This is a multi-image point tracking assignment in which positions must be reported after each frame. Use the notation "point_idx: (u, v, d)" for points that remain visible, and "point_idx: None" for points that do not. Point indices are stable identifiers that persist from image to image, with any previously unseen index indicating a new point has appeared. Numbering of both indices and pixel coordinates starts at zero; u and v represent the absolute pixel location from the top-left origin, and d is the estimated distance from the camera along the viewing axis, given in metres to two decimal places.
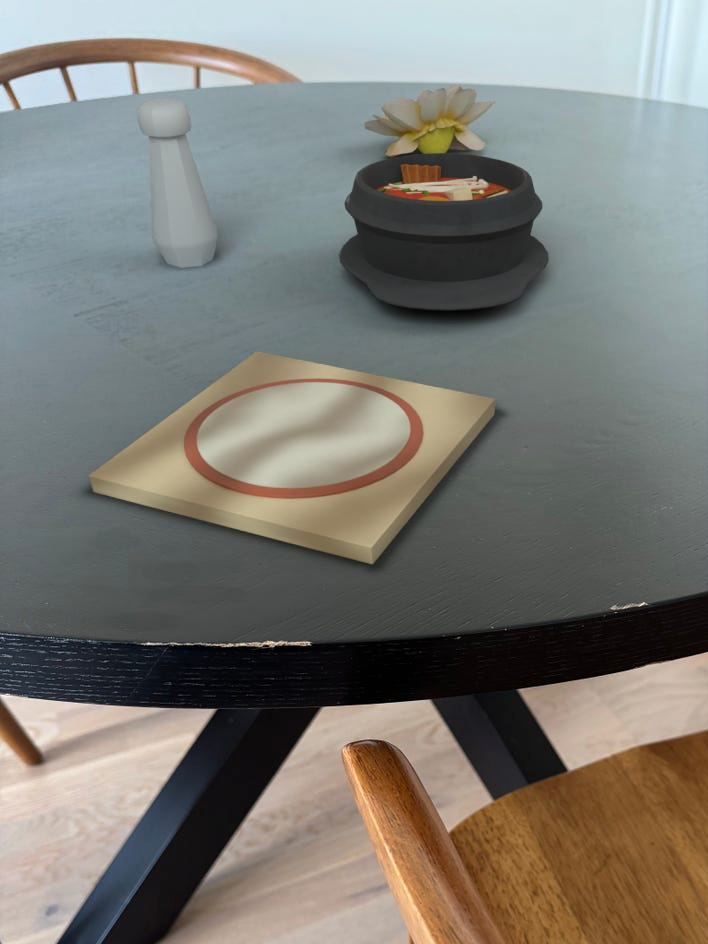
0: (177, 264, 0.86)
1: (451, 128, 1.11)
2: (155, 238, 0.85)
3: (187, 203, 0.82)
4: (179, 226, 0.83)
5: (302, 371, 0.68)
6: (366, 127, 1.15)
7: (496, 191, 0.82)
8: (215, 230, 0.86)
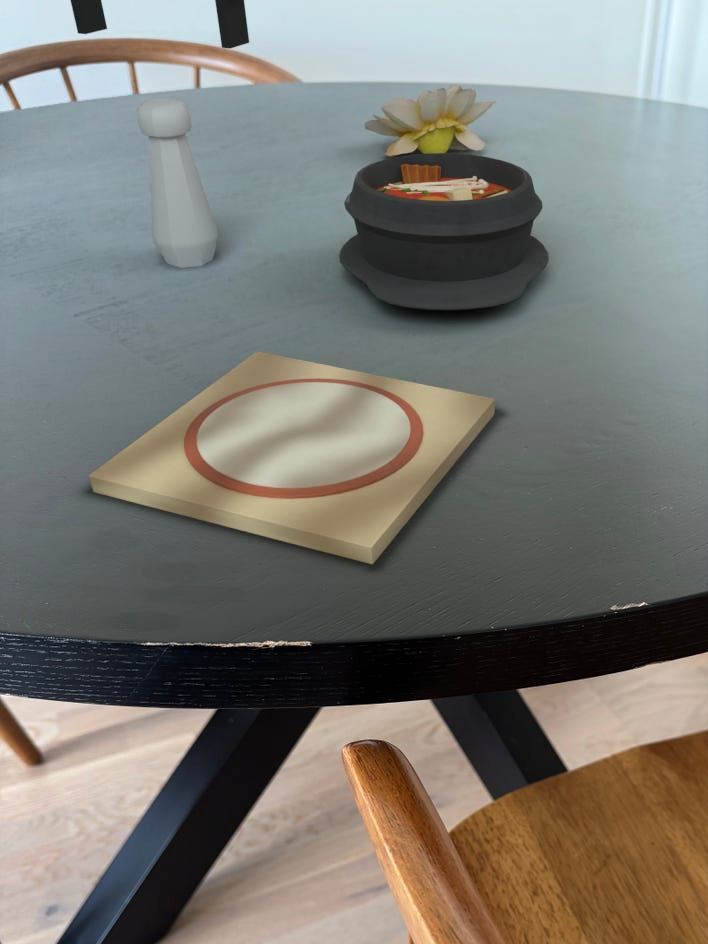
0: (177, 264, 0.86)
1: (451, 128, 1.11)
2: (155, 238, 0.85)
3: (187, 203, 0.82)
4: (179, 226, 0.83)
5: (302, 371, 0.68)
6: (366, 127, 1.15)
7: (496, 191, 0.82)
8: (215, 230, 0.86)
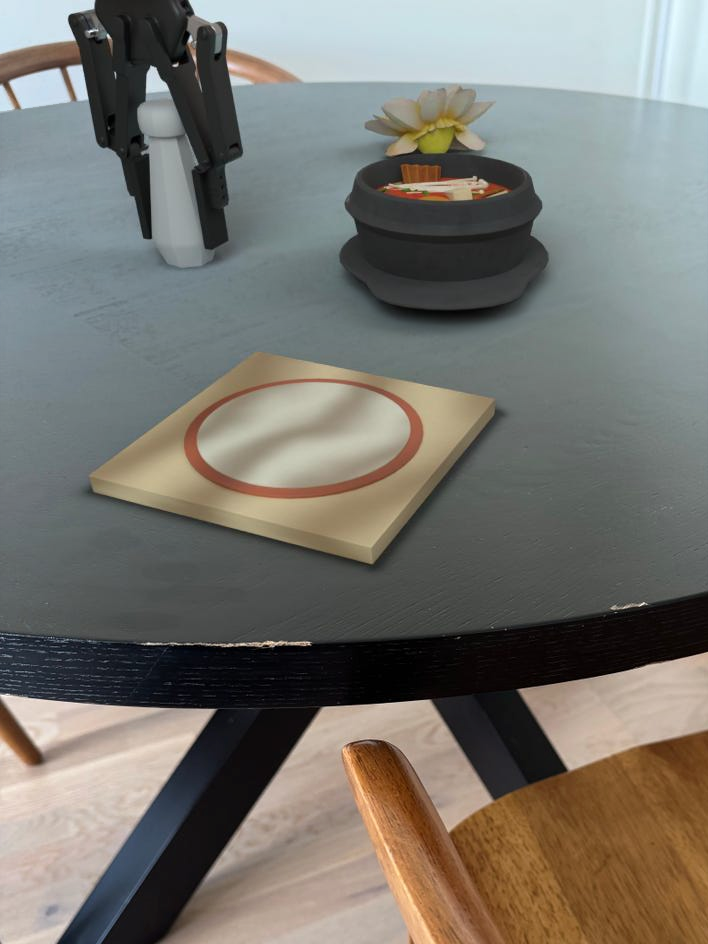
0: (177, 264, 0.86)
1: (451, 128, 1.11)
2: (155, 238, 0.85)
3: (187, 203, 0.82)
4: (179, 226, 0.83)
5: (302, 371, 0.68)
6: (366, 127, 1.15)
7: (496, 191, 0.82)
8: None
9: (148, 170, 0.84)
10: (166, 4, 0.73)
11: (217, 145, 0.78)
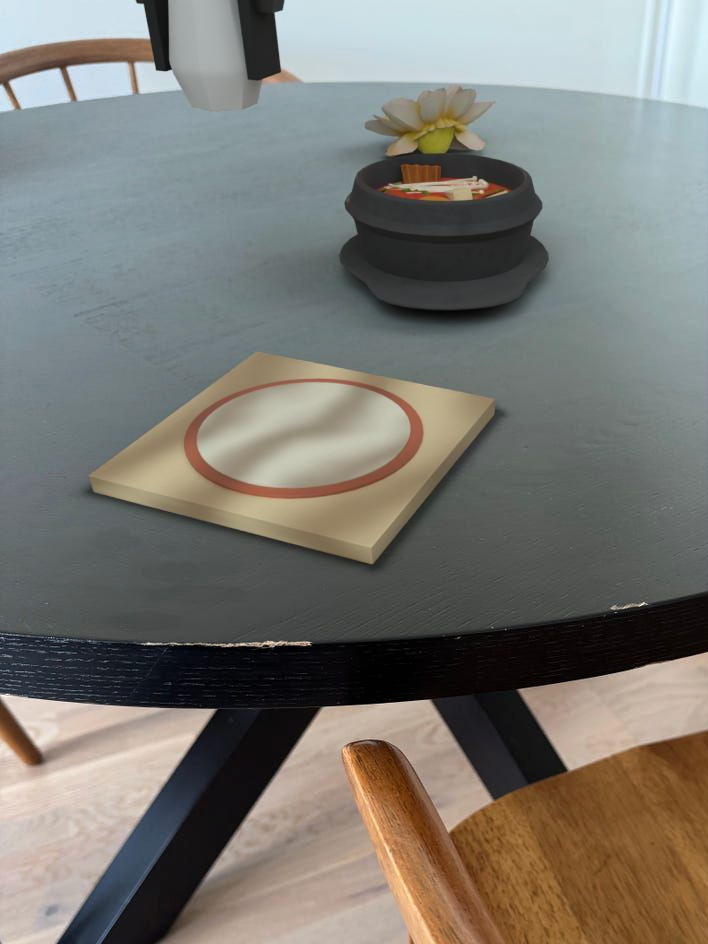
0: (207, 106, 0.59)
1: (451, 128, 1.11)
2: (175, 64, 0.57)
3: (223, 4, 0.55)
4: (211, 41, 0.56)
5: (302, 371, 0.68)
6: (366, 127, 1.15)
7: (496, 191, 0.82)
8: None
9: None
10: None
11: None
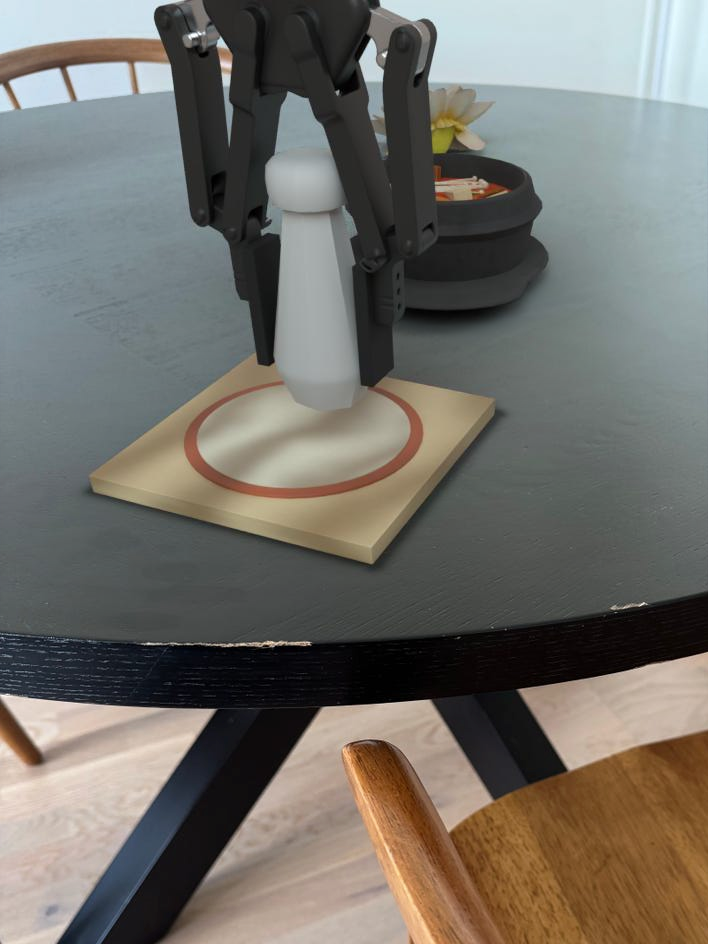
0: (314, 406, 0.54)
1: (451, 128, 1.11)
2: (282, 368, 0.53)
3: (339, 315, 0.50)
4: (324, 351, 0.51)
5: None
6: None
7: (496, 191, 0.82)
8: None
9: (272, 260, 0.52)
10: None
11: (403, 228, 0.46)
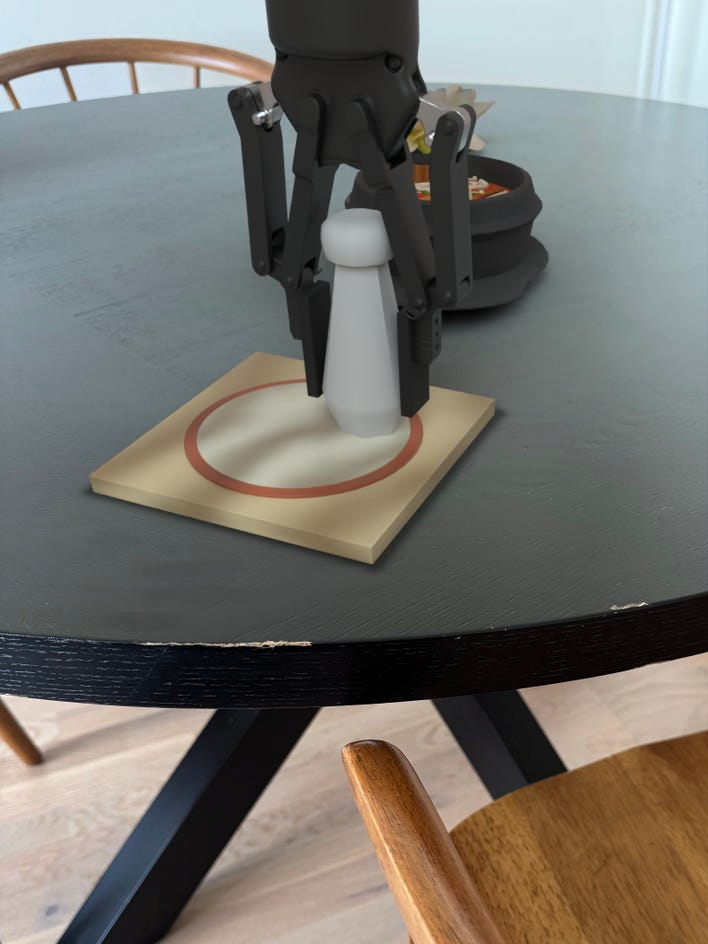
0: (358, 433, 0.60)
1: None
2: (330, 400, 0.59)
3: (383, 355, 0.57)
4: (369, 386, 0.58)
5: (302, 371, 0.68)
6: None
7: (496, 191, 0.82)
8: None
9: (323, 305, 0.58)
10: (391, 81, 0.47)
11: (443, 282, 0.53)
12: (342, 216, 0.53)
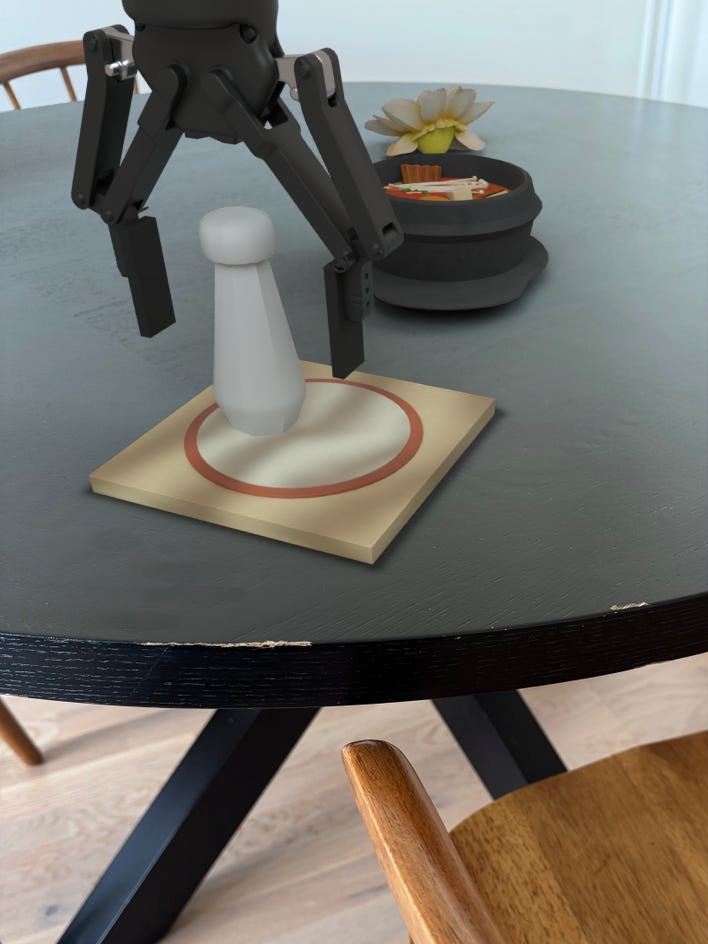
0: (249, 432, 0.60)
1: (451, 128, 1.11)
2: (219, 398, 0.59)
3: (268, 353, 0.57)
4: (255, 384, 0.57)
5: (302, 371, 0.68)
6: (366, 127, 1.15)
7: (496, 191, 0.82)
8: (303, 383, 0.60)
9: (148, 241, 0.57)
10: (246, 51, 0.46)
11: (364, 234, 0.50)
12: (218, 214, 0.53)
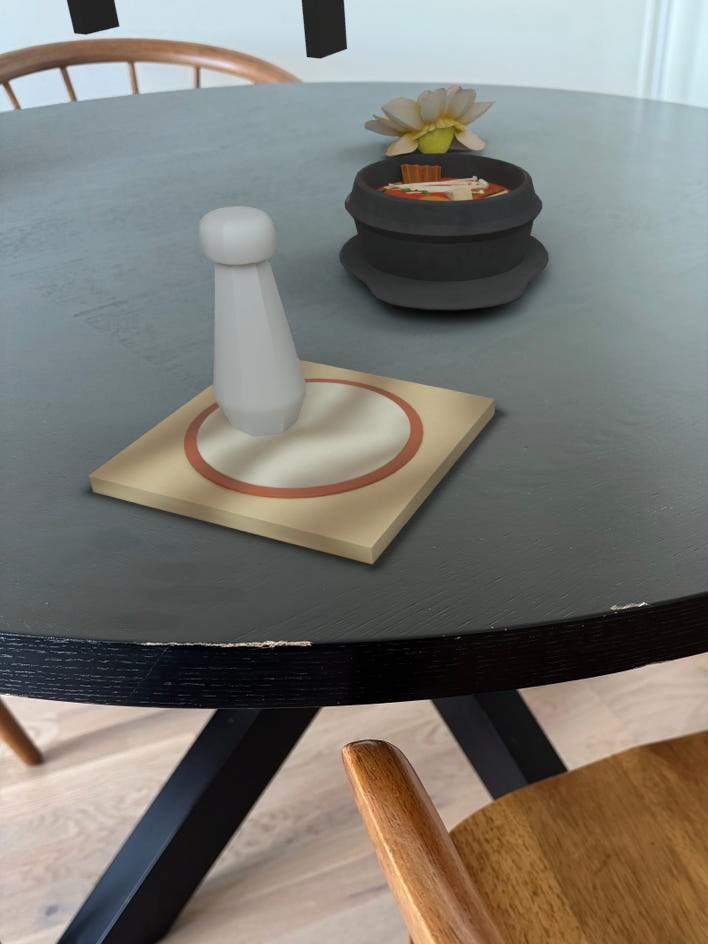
0: (249, 432, 0.60)
1: (451, 128, 1.11)
2: (219, 398, 0.59)
3: (268, 353, 0.57)
4: (255, 384, 0.57)
5: (302, 371, 0.68)
6: (366, 127, 1.15)
7: (496, 191, 0.82)
8: (303, 383, 0.60)
9: None
10: None
11: None
12: (218, 214, 0.53)
